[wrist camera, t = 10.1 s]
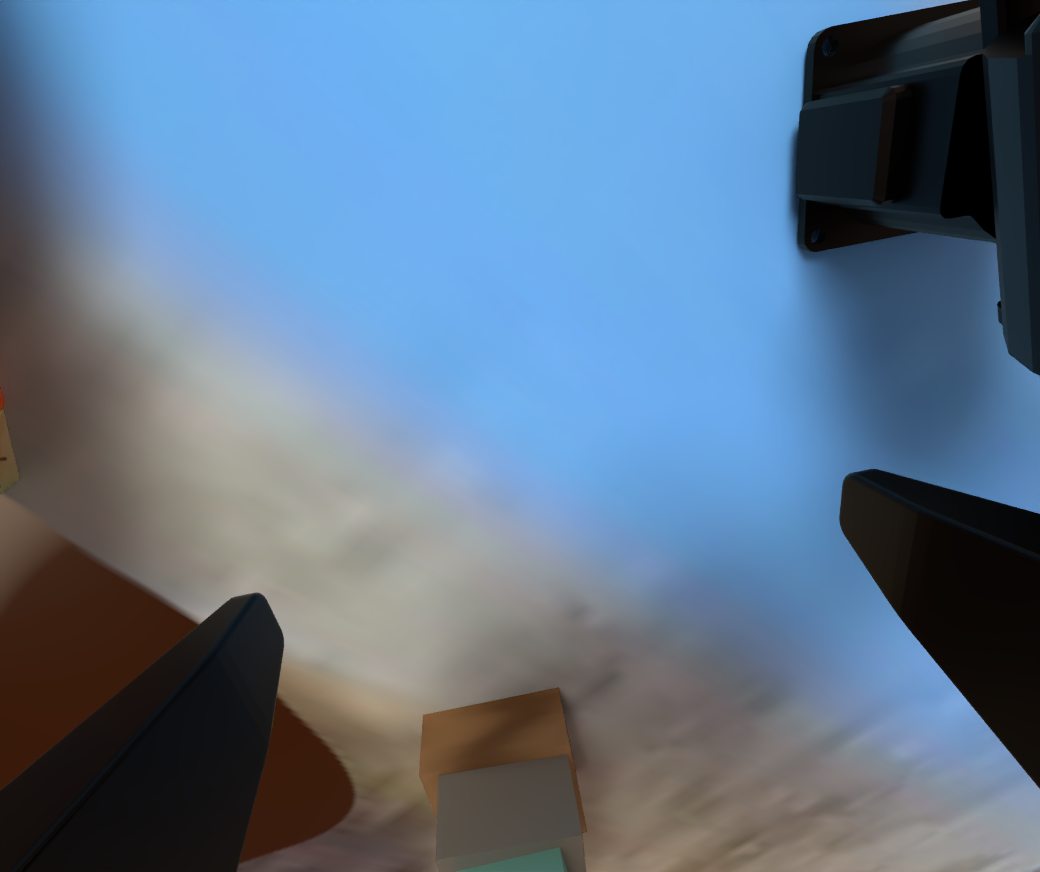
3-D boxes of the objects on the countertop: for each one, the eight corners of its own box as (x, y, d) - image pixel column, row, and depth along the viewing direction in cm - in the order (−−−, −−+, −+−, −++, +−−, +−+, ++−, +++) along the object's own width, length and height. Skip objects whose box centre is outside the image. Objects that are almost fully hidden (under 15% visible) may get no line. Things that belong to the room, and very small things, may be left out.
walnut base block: (557, 682, 29) (569, 744, 26) (574, 766, 32) (587, 831, 29) (423, 709, 29) (419, 775, 26) (453, 791, 32) (453, 859, 29)
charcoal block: (567, 754, 26) (582, 834, 23) (575, 829, 29) (589, 911, 26) (438, 775, 26) (435, 860, 23) (458, 849, 28) (458, 934, 25)
